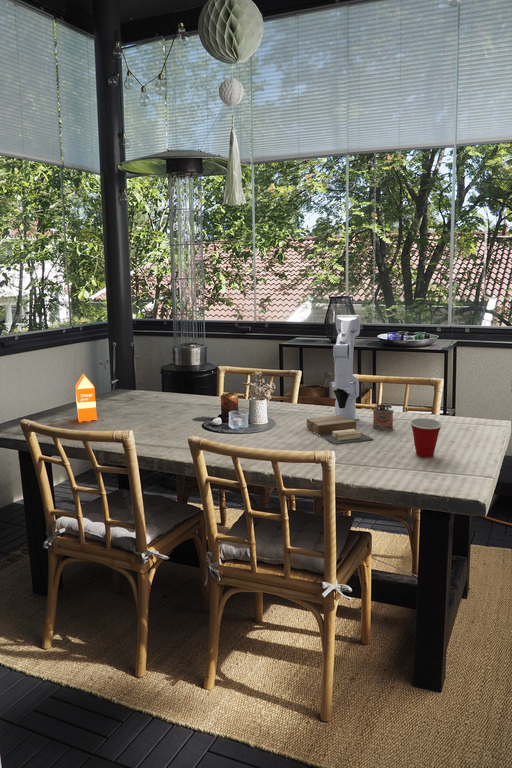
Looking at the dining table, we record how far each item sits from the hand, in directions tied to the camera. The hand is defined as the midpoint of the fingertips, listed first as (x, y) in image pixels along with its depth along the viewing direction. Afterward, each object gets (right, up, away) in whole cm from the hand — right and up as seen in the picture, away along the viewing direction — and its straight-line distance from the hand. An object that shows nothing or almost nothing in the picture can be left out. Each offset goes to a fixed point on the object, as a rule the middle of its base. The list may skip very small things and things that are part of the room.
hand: (342, 407), depth 264 cm
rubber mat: (0, -11, -9) cm, 14 cm away
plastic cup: (+24, -15, -33) cm, 44 cm away
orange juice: (-109, -6, +30) cm, 113 cm away
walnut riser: (-4, -9, +3) cm, 10 cm away
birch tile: (0, -9, -10) cm, 14 cm away
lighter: (+17, -9, +4) cm, 19 cm away
